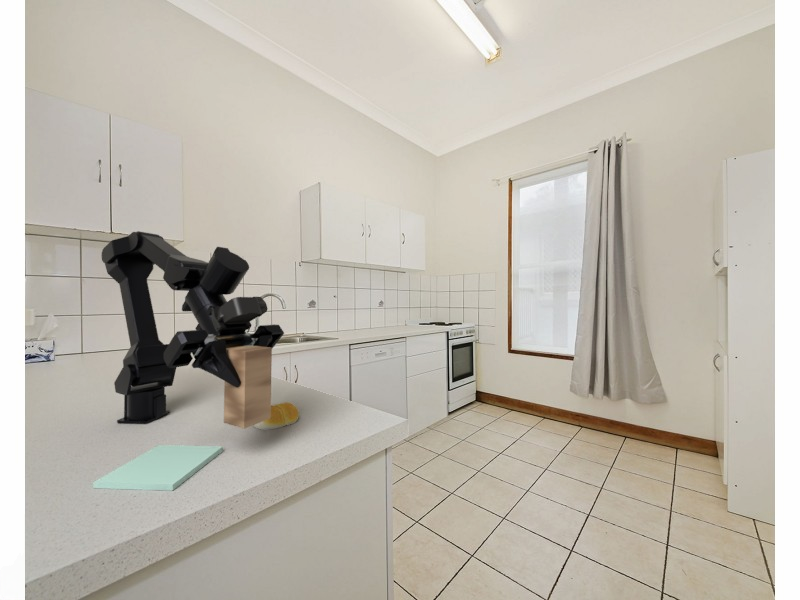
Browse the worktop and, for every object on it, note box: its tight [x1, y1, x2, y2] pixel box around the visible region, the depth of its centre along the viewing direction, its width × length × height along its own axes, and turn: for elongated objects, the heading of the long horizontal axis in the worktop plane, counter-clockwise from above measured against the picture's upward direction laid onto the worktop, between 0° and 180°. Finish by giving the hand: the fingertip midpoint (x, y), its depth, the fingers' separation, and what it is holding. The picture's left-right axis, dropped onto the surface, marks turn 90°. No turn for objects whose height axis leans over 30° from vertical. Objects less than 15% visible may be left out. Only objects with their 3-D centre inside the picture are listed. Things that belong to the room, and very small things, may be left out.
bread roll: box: [253, 402, 300, 431], centre depth 66 cm, size 8×9×4 cm
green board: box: [92, 444, 224, 492], centre depth 47 cm, size 11×11×1 cm
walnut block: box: [223, 345, 273, 429], centre depth 52 cm, size 5×5×12 cm
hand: (253, 381), depth 51 cm, fingers closed on walnut block, 5 cm apart
